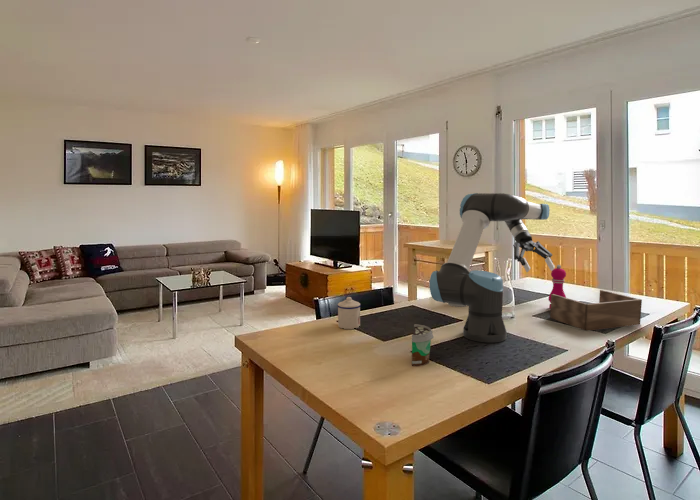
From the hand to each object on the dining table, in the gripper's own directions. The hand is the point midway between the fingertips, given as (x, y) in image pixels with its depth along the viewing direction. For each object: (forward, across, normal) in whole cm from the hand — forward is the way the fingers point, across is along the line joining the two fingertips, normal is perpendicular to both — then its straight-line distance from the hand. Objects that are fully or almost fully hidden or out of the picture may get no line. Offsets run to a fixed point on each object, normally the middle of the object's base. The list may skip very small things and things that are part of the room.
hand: (541, 269), depth 208 cm
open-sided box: (+34, 0, +11) cm, 36 cm away
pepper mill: (+20, 0, -3) cm, 20 cm away
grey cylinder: (+6, +36, -17) cm, 40 cm away
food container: (+49, +85, +24) cm, 101 cm away
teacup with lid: (+18, +97, -7) cm, 98 cm away
